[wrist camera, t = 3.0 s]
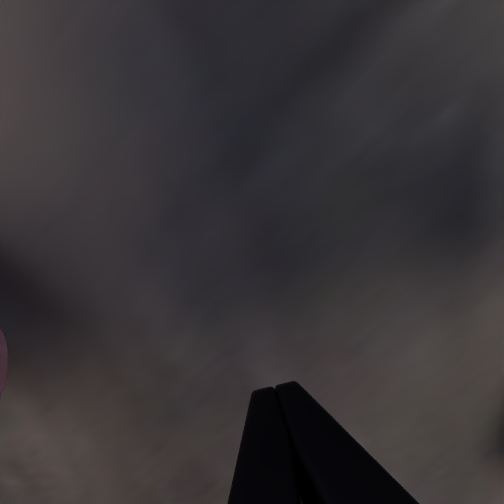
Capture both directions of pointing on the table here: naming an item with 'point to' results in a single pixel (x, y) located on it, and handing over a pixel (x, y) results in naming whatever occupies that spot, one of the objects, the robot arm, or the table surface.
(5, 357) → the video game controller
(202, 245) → the table surface
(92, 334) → the table surface
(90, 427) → the table surface
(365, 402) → the table surface
